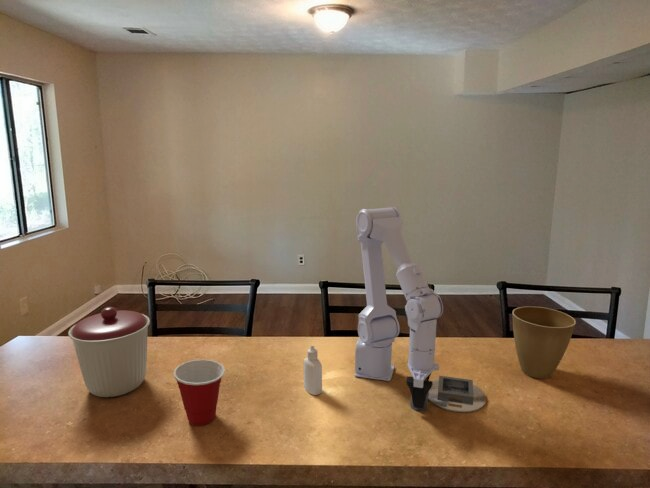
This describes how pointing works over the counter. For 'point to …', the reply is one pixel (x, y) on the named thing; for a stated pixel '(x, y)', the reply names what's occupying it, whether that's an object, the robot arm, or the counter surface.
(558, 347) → the plant pot
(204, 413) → the plastic cup
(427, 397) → the shaft
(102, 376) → the canister
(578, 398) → the counter surface
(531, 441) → the counter surface
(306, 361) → the eye dropper bottle
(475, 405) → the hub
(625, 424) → the counter surface
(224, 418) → the counter surface
